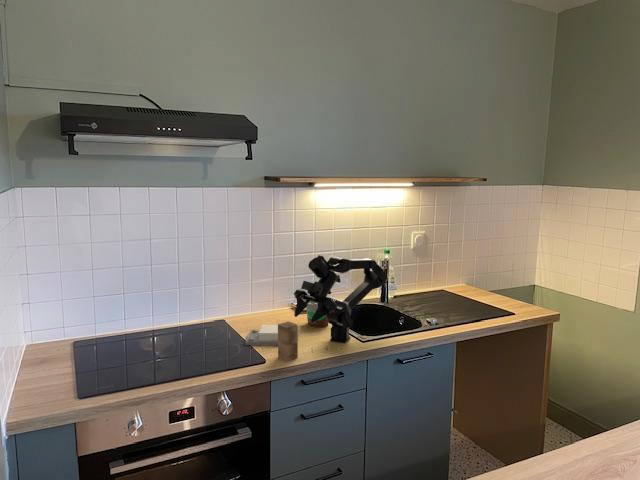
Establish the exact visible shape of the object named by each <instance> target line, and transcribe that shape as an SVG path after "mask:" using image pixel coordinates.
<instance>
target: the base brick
mask: <svg viewBox="0 0 640 480" xmlns="http://www.w3.org/2000/svg"><path fill="white" fill-rule="evenodd" d="M299 336H300V330H299V329H298V338H300V337H299ZM244 344H245V346H278V324H261V326H260V329H256V328H254V329H251V330H250V331H249V333H248V335H247V338H246V340H245V343H244Z"/></svg>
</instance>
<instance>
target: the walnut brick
mask: <svg viewBox="0 0 640 480" xmlns="http://www.w3.org/2000/svg"><path fill="white" fill-rule="evenodd" d="M277 325H278V345H277V352H278V353H277V358H278V359H280V360H283V361H285V362H290V361H292V360H295V359H298V358H299V356H298V355H299V354H298V351H299V349H298V348H299V347H298V342H299V337H298V330H299V329H298V328H299V327H298V324H297V323H295V322H292V321H290V320H289V321H285V322H281V323H277Z"/></svg>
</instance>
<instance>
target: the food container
mask: <svg viewBox="0 0 640 480" xmlns="http://www.w3.org/2000/svg"><path fill="white" fill-rule="evenodd" d="M307 305H308V306H307V307H306V308H305V309H306V319H307V325H308V326H309V327H313V328H324V327H328V326H329V324H330V323H329V321H328V318H327V315H325V316H323V317H321V318H320V319H318V320H316V321H315V322H313V323H312V322H311V319H312V317H313V315H314V314H315V312H316V310H317V308H318V303H315V302H311V301H310V302H309V303H308V304H307Z"/></svg>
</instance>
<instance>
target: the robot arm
mask: <svg viewBox="0 0 640 480" xmlns="http://www.w3.org/2000/svg"><path fill="white" fill-rule="evenodd" d="M307 266H308V268H309V269H310V271H311V272H312V273H313V274H314V275H315V277H317V278H318V281H314V282H311V281H307V280H303V281H302V284H301V287H300V289H299V288H298V289H296V290H295V291H294V293H293V295H294V298H295V299H296V306H295V310H294V317H295V318H297V317H298V316H299V315H301V313H302V312H303V311H304V310H305V309H306V307H307V306H308V305H307V304H308V303H309V302H311V303H318V308H317V310H316V312H315V314H314V315H313V317H312V319H311V322H312V323H313V322H315V321H316V320H318V319H320V318H321V317H323V316H325V315H327V318H328V321H329V323H328V324H331V327H330V339H329V340H330V341H331V342H337V343H344V344H345V343H347V342H348V341H349V340H350V339H351V335H350V328H351V327H352V326H353V323H354V319H353V318H352V317H351V314H352V310H353V309H354V308H355V307H356V306H357V305H359V303H360V302H362V301H363V299H364V298H365V297H366V296H367V295H369V293H371V292H372V290H376V289H379V288H381V287H382V286H384V285H385V284H386V283H387V281H388V276H387V273H386V272H385V270H384V269H383V268H382V267H381V266H380V265H379V264H378V263H377V262H376V260H375V259H373V258H367V257H365V258H348V259H347V258H343V257H337V256H331V257H330V258H329V259H327V260H326V259H325V257H324V256H323V255H320V254H318V256H317V257H314V258H313V259H311V260H310V261H309V262H308V265H307ZM351 270H363V274H364V278H363V282H362V283H360V284H359V285H358V286H357V287H356V288H355V289H354V290H353V291H352V292H351V293H350V294H348V295H347V297H345V298H344V299H343V300H342V301H341V300H338V299H336V300H334V299H332V297H328V295H331V294H332V291H331V290H332V288H333V287H334V286H335V284H336V283H341V282H342V281H341V278H340V277H341V276H340V274H346V273H348V272H349V271H351ZM336 273H339V274H336Z"/></svg>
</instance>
